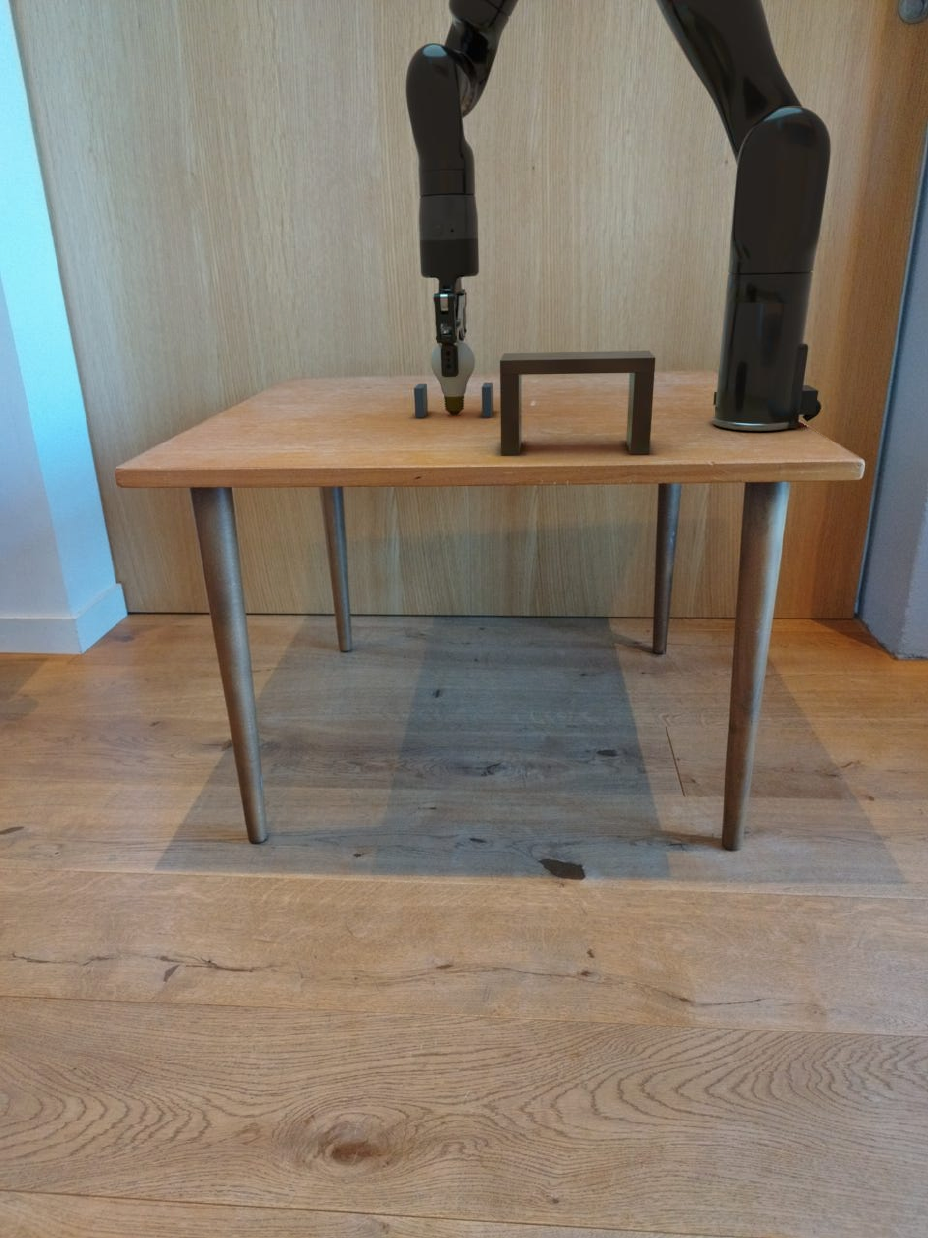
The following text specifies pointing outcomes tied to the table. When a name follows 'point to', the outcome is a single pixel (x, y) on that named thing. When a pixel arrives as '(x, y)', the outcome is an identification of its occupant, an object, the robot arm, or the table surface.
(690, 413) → the table surface
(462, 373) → the light bulb
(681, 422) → the table surface
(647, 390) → the dark brown rectangular arch
